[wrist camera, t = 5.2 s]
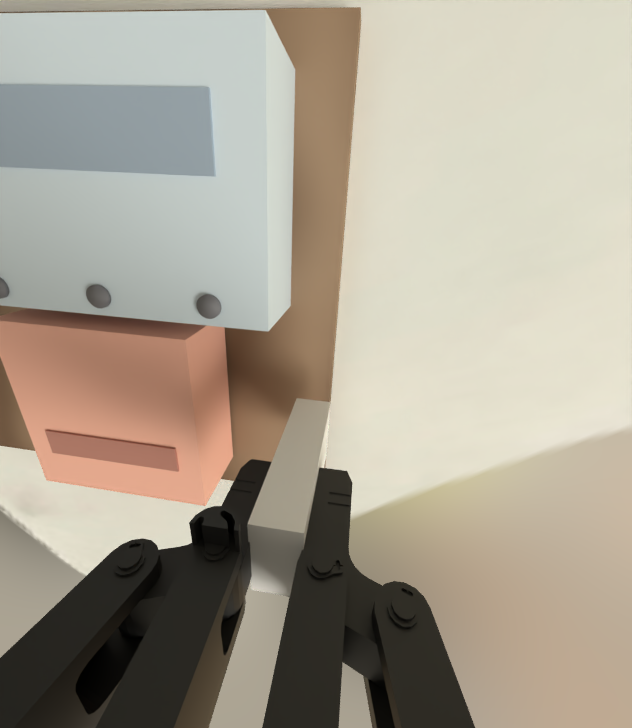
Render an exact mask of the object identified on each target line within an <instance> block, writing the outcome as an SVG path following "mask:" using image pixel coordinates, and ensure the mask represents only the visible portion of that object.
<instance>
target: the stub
mask: <svg viewBox="0 0 632 728" xmlns="http://www.w3.org/2000/svg"><path fill="white" fill-rule="evenodd" d="M0 357H1V360H2V363H3V365H4V368H5V371H6V373H7V376H8V379H9V381H10V384H11V387H12V389H13V392H14V395H15V397H16V400H17V403H18V405H19V408H20V411H21V413H22V416H23V419H24V421H25V424H26V427H27V429H28V432H29V435H30V437H31V440H32V443H33V445H34V448H35V451H36V453H37V456H38V459H39V461H40V464H41V467H42V469H43V472H44V475H45V477H46V480H48V481H54V482H60V483H67V484H73V485H79V486H85V487H91V488H98V489H104V490H110V491H116V492H122V493H129V494H135V495H141V496H147V497H153V498H160V499H166V500H172V501H178V502H184V503H191V504H197V505H203V506H205V505H206V504H207V502H208V500H209V498H210V497H211V495H212V493H213V491H214V490H215V488H216V486H217V484H218V482H219V481H220V479H221V477H222V475H223V474H224V472H225V470H226V468H227V466H228V465H229V463H230V461H231V459H232V458H233V447H232V432H231V417H230V402H229V387H228V372H227V357H226V342H225V327H217V326H206V325H196V324H186V323H176V322H165V321H155V320H145V319H135V318H125V317H114V316H104V315H94V314H84V313H74V312H63V311H53V310H43V309H33V308H27V309H23V310H19V311H16V312H12V313H8V314H4V315H1V316H0Z"/></svg>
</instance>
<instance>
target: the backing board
mask: <svg viewBox="0 0 632 728" xmlns="http://www.w3.org/2000/svg"><path fill="white" fill-rule="evenodd" d="M216 10H266V12H267V14H268V16H269V18H270V20H271V22H272V24H273V26H274V28H275V30H276V32H277V34H278V36H279V38H280V40H281V42H282V44H283V46H284V48H285V50H286V52H287V54H288V56H289V58H290V60H291V62H292V64H293V66H294V68H295V108H294V158H293V209H292V259H291V306H290V307H289V308H288V310H287V311H286V312H285V313H284V314H283V315H282V316H281V318H280V319H279V320H278V321H277V322H276V323H275V325H274V326H273V327H272V328H271V329H270V330H269V331H257V330H247V329H237V328H227V327H225V342H226V357H227V372H228V387H229V402H230V417H231V432H232V447H233V458H232V459H231V461H230V463H229V465H228V466H227V468H226V470H225V472H224V474H223V475H222V477H221V479H225V480H232V481H235V478H236V477H237V475H238V473H239V471H240V469H241V467H242V466H244V465H245V464H246V463H247V462H248V461H249V460H251V459H255V460H263V461H270V462H272V460H273V457H274V455H275V452H276V450H277V447H278V445H279V442H280V440H281V437H282V435H283V432H284V429H285V427H286V424H287V422H288V419H289V417H290V414H291V412H292V409H293V407H294V404H295V401H296V399H297V398H300V399H308V400H317V401H326V402H330V401H331V388H332V376H333V364H334V351H335V339H336V326H337V314H338V302H339V289H340V277H341V264H342V252H343V240H344V227H345V215H346V202H347V190H348V178H349V165H350V153H351V140H352V128H353V116H354V103H355V91H356V78H357V66H358V53H359V41H360V29H361V7H359V8H282V9H205V10H128V11H51V12H0V13H57V12H136V11H216ZM23 309H27V308H22V307H12V306H2V305H0V316H1V315H4V314H8V313H12V312H16V311H19V310H23ZM0 446H7V447H13V448H20V449H27V450H33V451H35V448H34V445H33V443H32V440H31V437H30V435H29V432H28V429H27V427H26V424H25V421H24V419H23V416H22V413H21V411H20V408H19V405H18V403H17V400H16V397H15V395H14V392H13V389H12V387H11V384H10V381H9V379H8V376H7V373H6V371H5V368H4V365H3V363H2V360H1V357H0ZM325 463H326V460H325ZM324 468H325V465H324Z"/></svg>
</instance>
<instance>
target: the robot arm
mask: <svg viewBox="0 0 632 728" xmlns="http://www.w3.org/2000/svg"><path fill="white" fill-rule="evenodd" d="M330 404H331V402H326V401H317V400H308V399H300V398H297V399H296V401H295V404H294V407H293V409H292V412H291V414H290V417H289V419H288V422H287V424H286V427H285V429H284V432H283V435H282V437H281V440H280V442H279V445H278V447H277V450H276V452H275V455H274V457H273V460H272V462H270V461H263V460H255V459H251V460H249V461H248V462H247V463H246V464H245V465H244V466H242V467H241V469H240V471H239V473H238V475H237V477H236V478H235V481H234V482H233V484H232V486H231V488H230V491H229V492H228V494H227V496H226V498H225V500H224V502H223V504H222V506H214V507H211V508H207V509H204V510H203V511H201V512H200V513H198V514H197V515H195V517H194V518H193V519H192V520H191V521H190V523H189V524H190V530H191V536H192V543H191V544H189V545H185V546H181V547H175V548H168V549H162V550H158V547H157V545H156V544H155V543H154V542H152V541H151V540H147V539H136V540H131V541H129V542H127V543H124V544H122V545H120V546H119V547H118V548H116V549H115V550H114V551H112V552H111V553H110V554H109V555H108V556H107V557H106V558H105V559H104V560H103V561H102V562H101V563H100V564H99V565H98V566H97V567H95V568H94V569H93V570H92V571H91V572H90V573H89V574H88V575H87V576H86V577H85V578H84V579H83V580H82V581H81V582H80V583H79V584H78V585H77V586H75V587H74V588H73V589H72V590H71V591H70V592H69V593H68V594H67V595H66V596H65V597H64V598H63V599H62V600H61V601H60V602H59V603H58V604H57V605H56V606H55V607H54V608H52V609H51V610H50V611H49V612H48V613H47V614H46V615H45V616H44V617H43V618H42V619H41V620H40V621H39V622H38V623H37V624H36V625H35V626H33V628H31V629H30V630H29V631H28V632H27V633H26V634H25V635H24V636H23V637H22V638H21V639H20V640H19V641H18V642H17V643H16V644H15V645H13V647H11V648H10V650H8V651H7V652H6V653H5V654H4V655H3V656H2V657H1V658H0V728H209V724H210V721H211V718H212V715H213V712H214V708H215V705H216V702H217V698H218V695H219V692H220V689H221V686H222V682H223V679H224V676H225V673H226V670H227V666H228V663H229V660H230V657H231V653H232V650H233V647H234V644H235V641H236V637H237V634H238V631H239V628H240V624H241V621H242V618H243V615H244V611H245V595H246V592H247V589H248V586H249V583H250V581H251V590H256V591H261V592H266V593H272V594H277V595H283V596H288V597H290V598H289V603H288V608H287V613H286V617H285V622H284V628H283V632H282V637H281V641H280V646H279V651H278V656H277V661H276V665H275V670H274V675H273V680H272V685H271V690H270V694H269V699H268V704H267V708H266V713H265V718H264V723H263V727H262V728H338V726H339V710H340V709H339V708H340V693H341V692H340V691H341V676H342V662H344V663H345V664H347V665H348V666H350V667H351V668H353V669H354V670H356V671H357V672H359V673H360V674H362V675H363V676H364V682H365V688H366V693H367V699H368V705H369V710H370V716H371V722H372V727H373V728H475V726H474V724H473V721H472V718H471V716H470V713H469V711H468V707H467V705H466V702H465V699H464V697H463V694H462V691H461V689H460V686H459V683H458V681H457V678H456V675H455V673H454V670H453V667H452V665H451V662H450V660H449V657H448V654H447V651H446V649H445V646H444V644H443V641H442V638H441V635H440V633H439V630H438V627H437V625H436V622H435V619H434V617H433V614H432V611H431V609H430V607H429V605H428V603H427V601H426V600H425V598H424V596H423V595H421V593H420V592H419V591H418V590H417V589H416V588H414V587H412V586H410V585H408V584H406V583H404V582H396V581H393V582H390V583H386V584H384V585H383V586H382V585H380V584H378V583H376V582H374V581H372V580H370V579H369V578H367V577H366V576H364V575H363V574H361V573H360V572H359V571H358V570H357V569H356V568H355V566H354V564H353V563H352V561H351V559H350V556H349V548H348V545H349V528H350V511H351V495H352V481H351V479H350V477H349V475H348V472H347V471H341V470H334V469H327V468H324V465H325V460H326V454H327V443H328V430H329V417H330Z"/></svg>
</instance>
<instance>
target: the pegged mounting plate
mask: <svg viewBox="0 0 632 728" xmlns="http://www.w3.org/2000/svg"><path fill="white" fill-rule="evenodd" d="M294 108H295V68H294V66H293V64H292V62H291V60H290V58H289V56H288V54H287V52H286V50H285V48H284V46H283V44H282V42H281V40H280V38H279V36H278V34H277V32H276V30H275V28H274V26H273V24H272V22H271V20H270V18H269V16H268V14H267V12H266V10H216V11H136V12H57V13H0V305H2V306H12V307H22V308H33V309H43V310H53V311H63V312H74V313H84V314H94V315H104V316H114V317H125V318H135V319H145V320H155V321H165V322H176V323H186V324H196V325H206V326H217V327H227V328H237V329H247V330H257V331H269V330H270V329H271V328H272V327H273V326H274V325H275V323H276V322H277V321H278V320H279V319H280V318H281V316H282V315H283V314H284V313H285V312H286V311H287V310H288V308H289V307H290V306H291V259H292V209H293V158H294Z"/></svg>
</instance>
